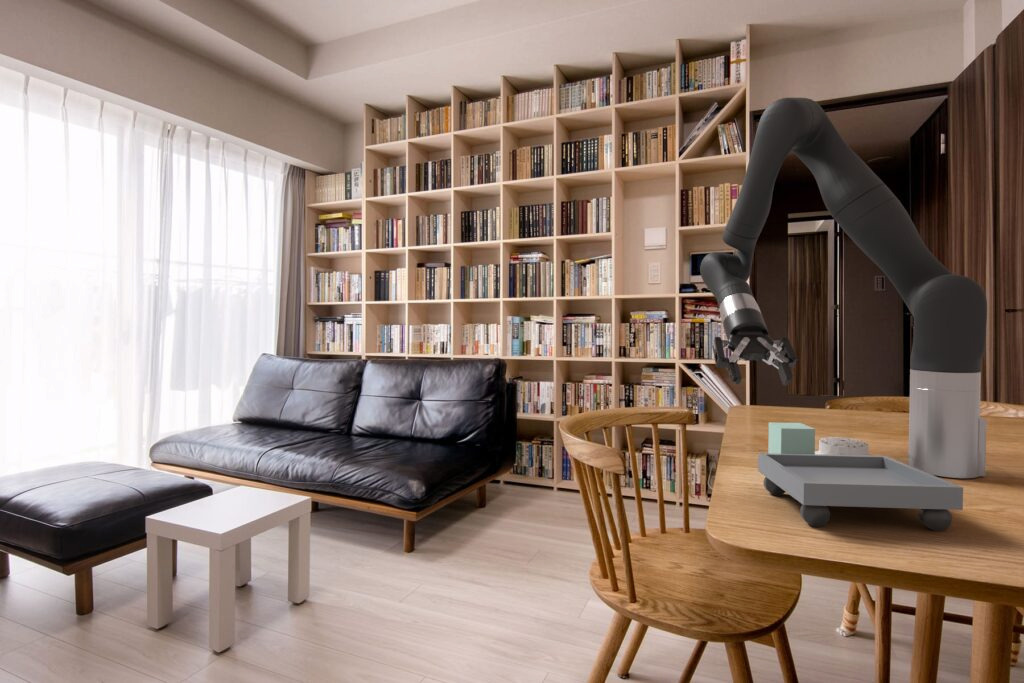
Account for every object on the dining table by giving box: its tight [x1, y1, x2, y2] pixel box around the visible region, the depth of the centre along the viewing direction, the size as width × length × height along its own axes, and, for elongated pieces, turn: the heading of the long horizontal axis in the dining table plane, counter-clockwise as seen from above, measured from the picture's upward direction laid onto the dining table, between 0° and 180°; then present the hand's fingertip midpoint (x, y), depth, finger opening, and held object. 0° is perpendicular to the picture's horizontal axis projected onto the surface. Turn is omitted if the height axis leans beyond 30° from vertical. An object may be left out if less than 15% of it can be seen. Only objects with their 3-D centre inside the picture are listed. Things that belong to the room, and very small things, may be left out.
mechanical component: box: [815, 436, 869, 456], centre depth 94 cm, size 10×4×10 cm
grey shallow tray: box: [757, 452, 964, 532], centre depth 70 cm, size 18×15×6 cm
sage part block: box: [767, 421, 816, 454], centre depth 83 cm, size 5×5×9 cm
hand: (762, 382), depth 95 cm, fingers open, 8 cm apart
